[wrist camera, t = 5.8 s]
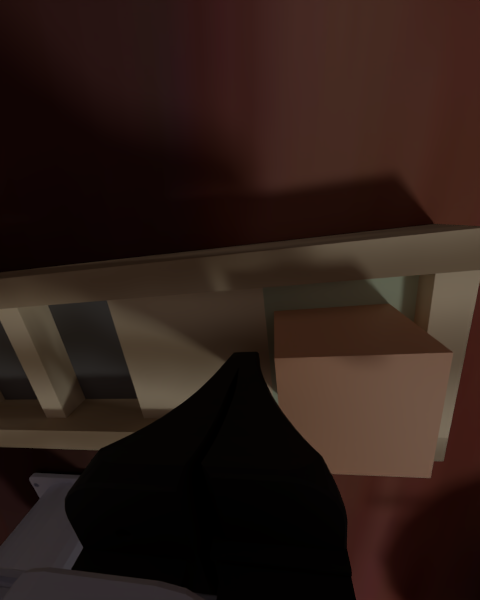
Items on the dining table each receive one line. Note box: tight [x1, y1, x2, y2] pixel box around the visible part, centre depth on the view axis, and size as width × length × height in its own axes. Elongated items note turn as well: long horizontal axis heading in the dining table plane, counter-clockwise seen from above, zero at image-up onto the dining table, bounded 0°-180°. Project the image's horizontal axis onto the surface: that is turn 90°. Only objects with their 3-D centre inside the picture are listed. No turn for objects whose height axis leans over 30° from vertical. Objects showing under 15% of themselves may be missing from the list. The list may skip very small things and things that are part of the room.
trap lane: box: [0, 224, 480, 461], centre depth 14 cm, size 11×30×3 cm, turn 97°
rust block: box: [274, 304, 453, 478], centre depth 10 cm, size 5×5×4 cm
